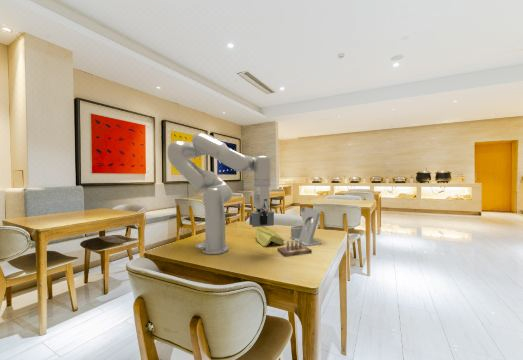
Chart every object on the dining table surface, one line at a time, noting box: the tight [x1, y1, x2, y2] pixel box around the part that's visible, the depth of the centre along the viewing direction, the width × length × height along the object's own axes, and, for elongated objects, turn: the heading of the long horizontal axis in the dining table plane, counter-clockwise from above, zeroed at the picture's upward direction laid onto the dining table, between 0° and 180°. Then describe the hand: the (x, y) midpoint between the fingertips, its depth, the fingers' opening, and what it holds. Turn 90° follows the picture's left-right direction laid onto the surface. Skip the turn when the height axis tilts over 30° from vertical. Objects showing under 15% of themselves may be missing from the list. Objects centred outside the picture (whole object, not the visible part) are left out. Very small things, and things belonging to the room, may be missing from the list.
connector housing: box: [248, 210, 275, 228], centre depth 107 cm, size 10×5×6 cm, turn 110°
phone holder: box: [289, 206, 322, 247], centre depth 130 cm, size 17×10×18 cm, turn 23°
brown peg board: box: [276, 240, 312, 258], centre depth 112 cm, size 14×8×6 cm, turn 110°
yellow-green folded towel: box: [255, 226, 285, 247], centre depth 130 cm, size 20×7×10 cm
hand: (261, 222), depth 107 cm, fingers closed on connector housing, 5 cm apart
